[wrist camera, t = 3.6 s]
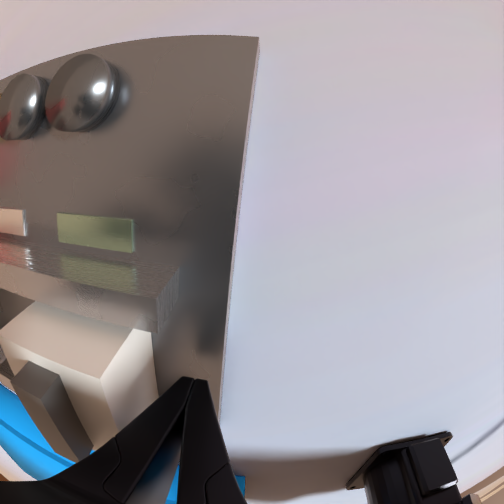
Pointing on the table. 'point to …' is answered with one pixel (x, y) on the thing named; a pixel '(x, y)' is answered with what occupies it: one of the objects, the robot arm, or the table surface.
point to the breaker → (78, 376)
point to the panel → (129, 192)
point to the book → (44, 445)
